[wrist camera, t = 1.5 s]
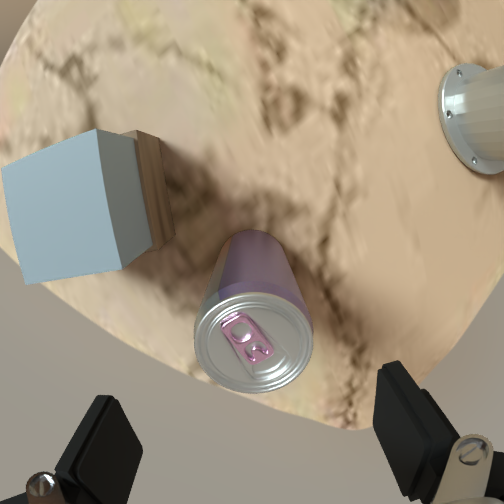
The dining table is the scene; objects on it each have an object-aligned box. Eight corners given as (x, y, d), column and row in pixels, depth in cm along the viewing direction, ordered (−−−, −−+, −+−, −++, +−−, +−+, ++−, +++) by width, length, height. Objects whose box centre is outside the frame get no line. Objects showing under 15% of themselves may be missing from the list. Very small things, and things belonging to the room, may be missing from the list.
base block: (159, 138, 26) (136, 129, 20) (175, 234, 28) (157, 250, 22) (76, 161, 26) (42, 161, 20) (93, 249, 28) (62, 266, 23)
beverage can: (261, 215, 28) (274, 263, 13) (296, 269, 29) (338, 360, 14) (206, 251, 28) (164, 331, 14) (243, 302, 30) (237, 412, 15)
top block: (133, 138, 20) (96, 128, 14) (152, 245, 22) (122, 269, 16) (48, 166, 20) (1, 168, 15) (67, 260, 22) (25, 284, 17)
